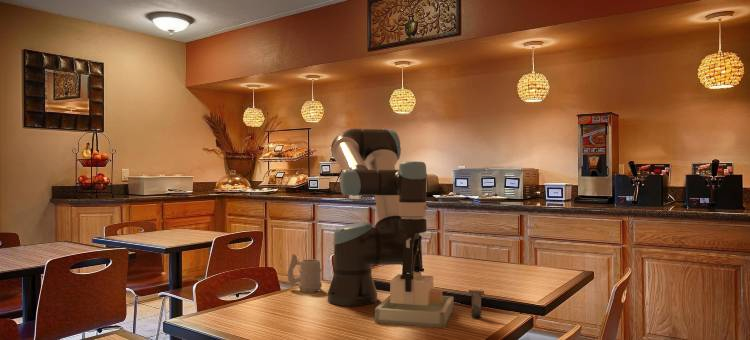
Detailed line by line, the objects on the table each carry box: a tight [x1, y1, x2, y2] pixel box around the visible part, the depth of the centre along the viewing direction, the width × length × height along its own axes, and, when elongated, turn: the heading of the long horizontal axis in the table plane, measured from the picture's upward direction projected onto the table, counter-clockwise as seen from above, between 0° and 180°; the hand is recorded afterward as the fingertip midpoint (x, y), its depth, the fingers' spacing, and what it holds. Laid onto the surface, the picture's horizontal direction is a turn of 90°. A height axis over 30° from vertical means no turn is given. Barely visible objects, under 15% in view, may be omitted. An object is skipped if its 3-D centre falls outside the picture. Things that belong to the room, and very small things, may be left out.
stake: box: [468, 289, 485, 319], centre depth 140 cm, size 4×2×7 cm, turn 75°
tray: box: [374, 295, 455, 329], centre depth 143 cm, size 18×20×4 cm
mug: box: [286, 253, 323, 293], centre depth 175 cm, size 8×12×12 cm, turn 80°
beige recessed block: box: [389, 273, 443, 305], centre depth 143 cm, size 13×10×6 cm
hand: (412, 299), depth 143 cm, fingers closed on beige recessed block, 10 cm apart
